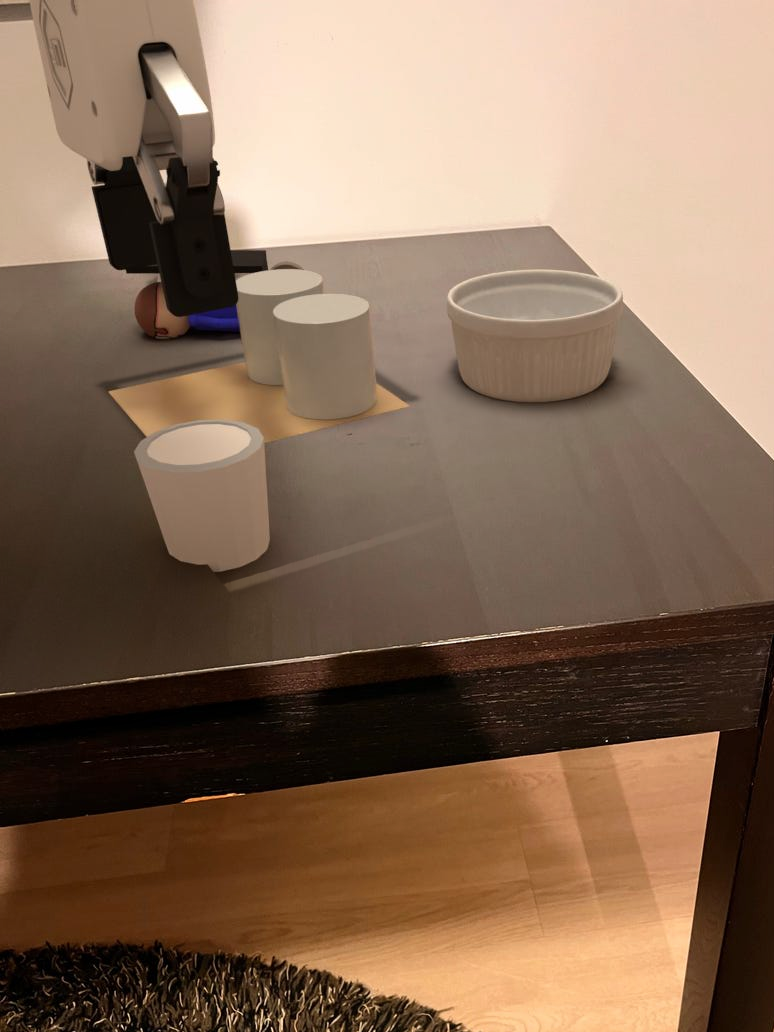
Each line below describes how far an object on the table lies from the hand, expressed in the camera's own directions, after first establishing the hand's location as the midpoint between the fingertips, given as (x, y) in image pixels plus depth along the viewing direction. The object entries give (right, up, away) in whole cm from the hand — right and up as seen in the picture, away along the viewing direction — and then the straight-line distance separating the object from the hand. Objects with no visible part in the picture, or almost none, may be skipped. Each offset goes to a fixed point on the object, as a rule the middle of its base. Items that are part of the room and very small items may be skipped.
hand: (171, 286), depth 49 cm
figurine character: (-7, +10, +41) cm, 43 cm away
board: (-2, 0, +27) cm, 27 cm away
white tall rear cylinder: (0, +4, +32) cm, 32 cm away
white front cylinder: (+4, 0, +26) cm, 26 cm away
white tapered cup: (0, -13, +9) cm, 16 cm away
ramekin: (+19, +3, +30) cm, 36 cm away
